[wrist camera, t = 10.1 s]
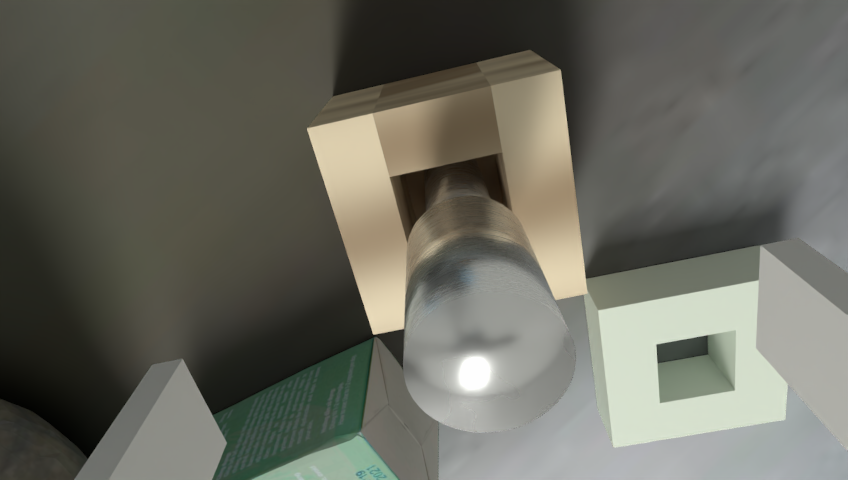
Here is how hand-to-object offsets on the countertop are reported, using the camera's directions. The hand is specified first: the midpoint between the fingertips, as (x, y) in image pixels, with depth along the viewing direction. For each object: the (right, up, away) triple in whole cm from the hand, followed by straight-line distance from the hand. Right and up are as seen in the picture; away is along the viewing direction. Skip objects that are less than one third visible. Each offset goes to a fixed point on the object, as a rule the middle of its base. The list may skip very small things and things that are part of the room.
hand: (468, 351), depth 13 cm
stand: (+13, -3, +18) cm, 22 cm away
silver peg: (0, +6, +13) cm, 14 cm away
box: (-8, -8, +21) cm, 24 cm away
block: (0, +6, +14) cm, 15 cm away
